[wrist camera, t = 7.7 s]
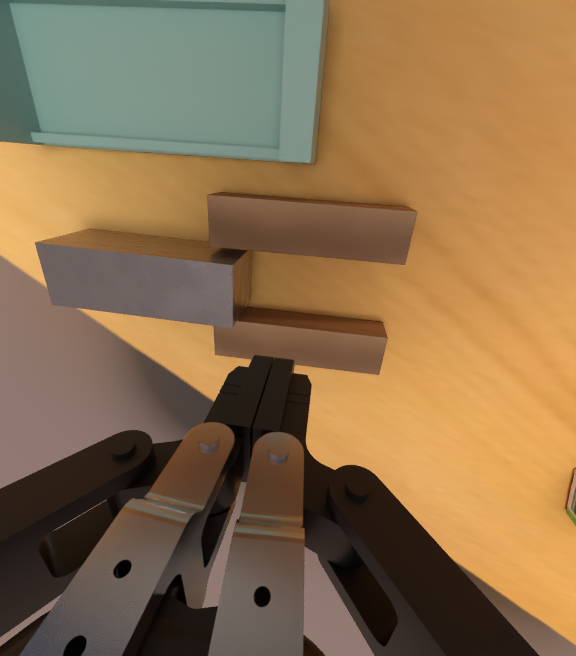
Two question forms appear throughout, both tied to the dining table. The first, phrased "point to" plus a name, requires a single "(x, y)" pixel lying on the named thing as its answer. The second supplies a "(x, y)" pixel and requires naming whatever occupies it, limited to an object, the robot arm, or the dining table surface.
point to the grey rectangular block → (147, 276)
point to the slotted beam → (310, 240)
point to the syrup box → (572, 500)
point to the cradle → (165, 76)
